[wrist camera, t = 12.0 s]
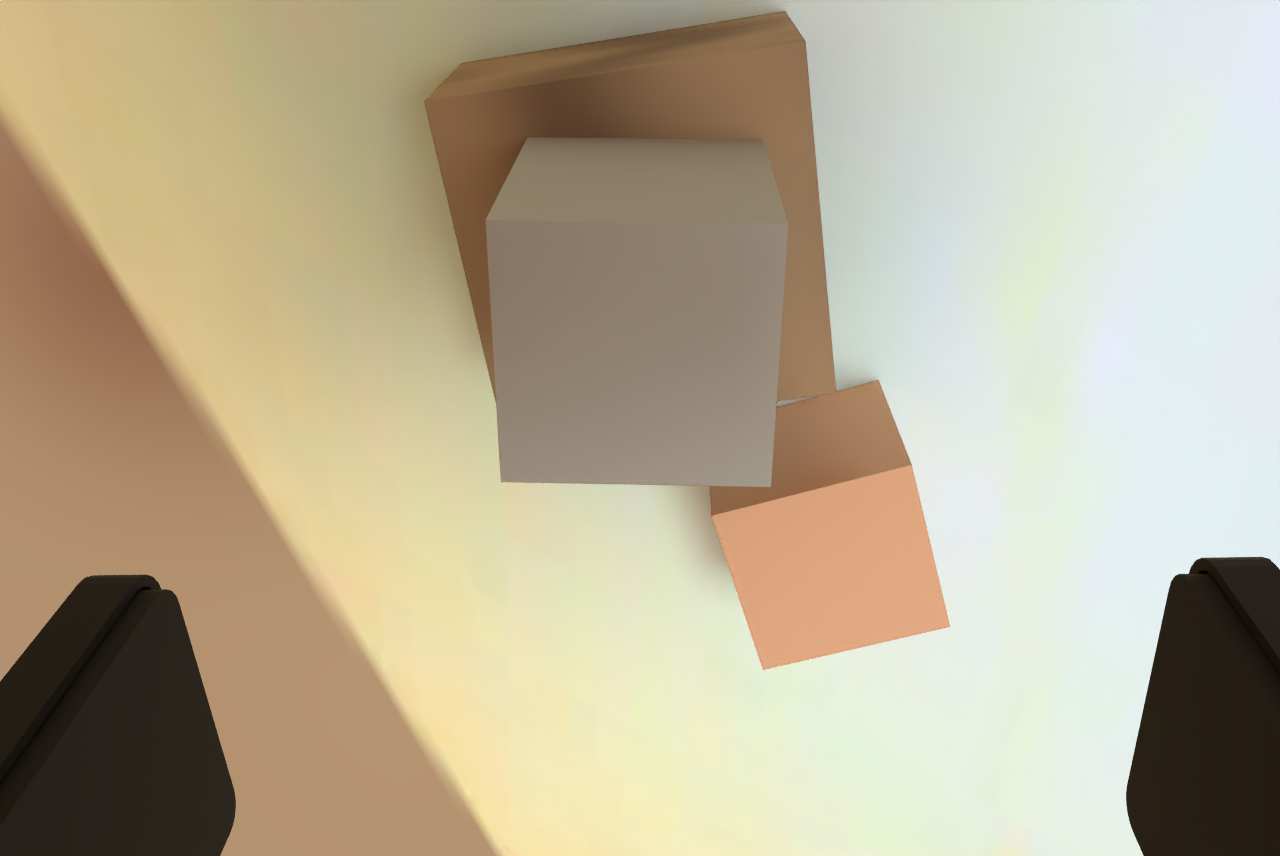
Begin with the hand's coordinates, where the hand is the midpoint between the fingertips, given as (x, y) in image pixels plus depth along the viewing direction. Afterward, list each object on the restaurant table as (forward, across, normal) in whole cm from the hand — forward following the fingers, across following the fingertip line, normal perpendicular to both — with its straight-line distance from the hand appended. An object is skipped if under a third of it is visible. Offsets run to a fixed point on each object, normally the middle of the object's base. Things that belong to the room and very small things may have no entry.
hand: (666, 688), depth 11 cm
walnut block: (+21, +1, +1) cm, 21 cm away
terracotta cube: (+20, -4, +10) cm, 23 cm away
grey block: (+16, +1, +1) cm, 16 cm away
